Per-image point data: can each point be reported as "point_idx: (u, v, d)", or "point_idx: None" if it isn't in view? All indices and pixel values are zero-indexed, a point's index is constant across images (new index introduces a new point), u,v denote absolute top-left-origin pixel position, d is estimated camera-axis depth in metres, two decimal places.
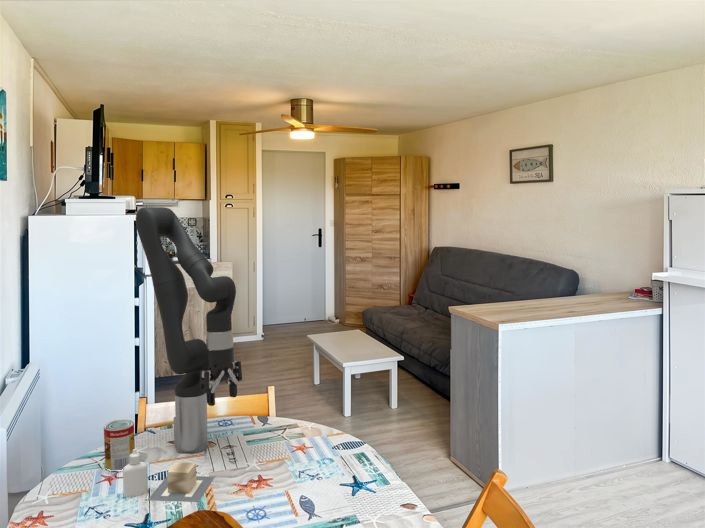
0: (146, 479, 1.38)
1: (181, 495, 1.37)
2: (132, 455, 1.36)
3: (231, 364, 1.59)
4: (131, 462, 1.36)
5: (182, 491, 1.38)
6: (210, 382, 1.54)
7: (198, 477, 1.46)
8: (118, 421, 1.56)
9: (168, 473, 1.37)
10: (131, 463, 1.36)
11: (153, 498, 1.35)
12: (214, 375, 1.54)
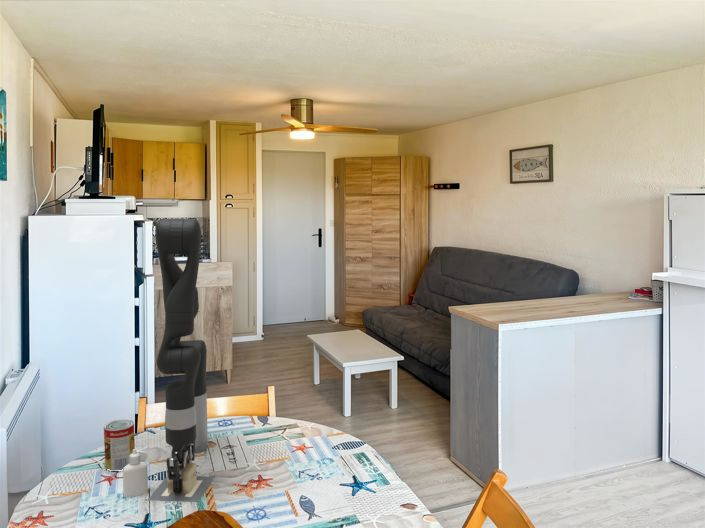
0: (146, 479, 1.38)
1: (181, 495, 1.37)
2: (132, 455, 1.36)
3: None
4: (131, 462, 1.36)
5: (182, 491, 1.38)
6: None
7: (198, 477, 1.46)
8: (118, 421, 1.56)
9: None
10: (131, 463, 1.36)
11: (153, 498, 1.35)
12: None
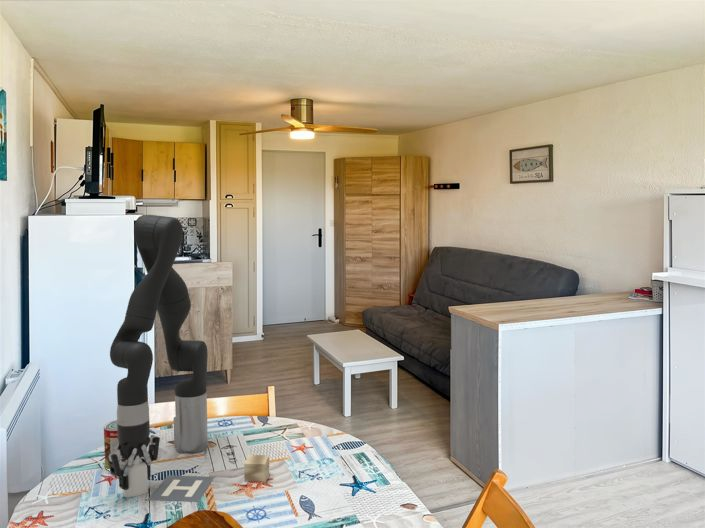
0: (146, 479, 1.38)
1: (181, 495, 1.37)
2: None
3: None
4: None
5: None
6: None
7: (198, 477, 1.46)
8: None
9: (245, 465, 1.44)
10: None
11: (153, 498, 1.35)
12: None
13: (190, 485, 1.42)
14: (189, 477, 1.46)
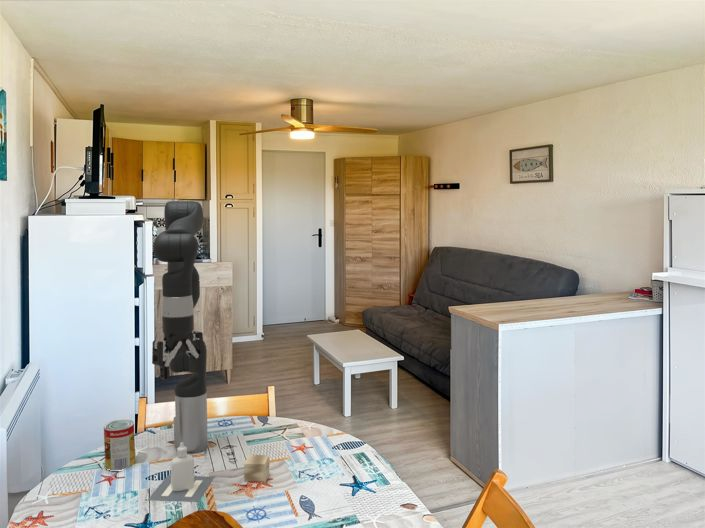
0: (193, 472, 1.41)
1: (181, 495, 1.37)
2: (180, 448, 1.39)
3: None
4: (179, 455, 1.39)
5: None
6: None
7: (198, 477, 1.46)
8: (118, 421, 1.56)
9: (245, 465, 1.44)
10: (179, 456, 1.39)
11: (153, 498, 1.35)
12: None
13: None
14: None
